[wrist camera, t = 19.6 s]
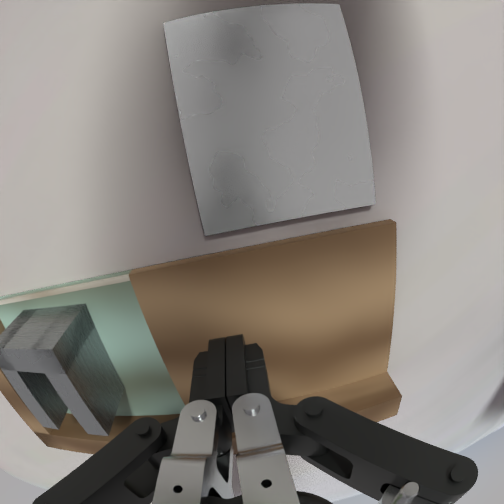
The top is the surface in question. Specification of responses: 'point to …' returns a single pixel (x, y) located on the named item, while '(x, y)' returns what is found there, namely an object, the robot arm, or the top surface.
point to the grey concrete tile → (270, 113)
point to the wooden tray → (239, 325)
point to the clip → (61, 367)
